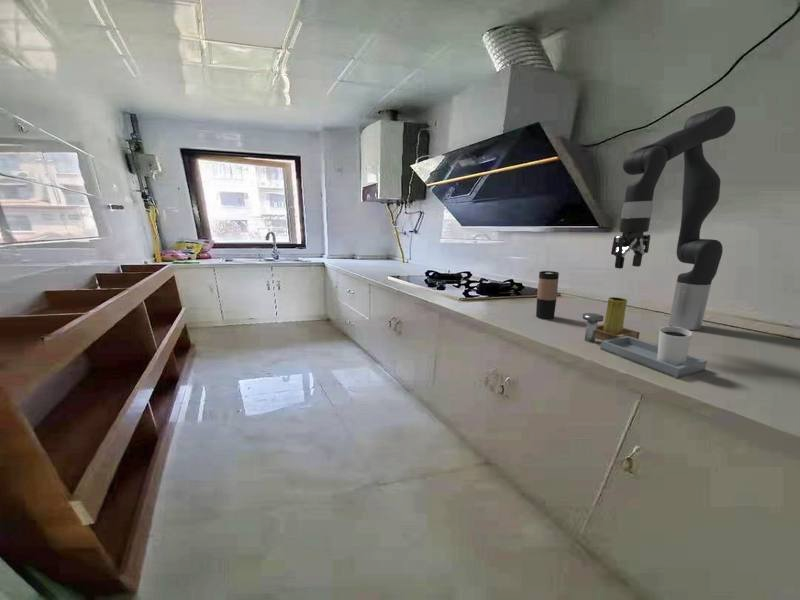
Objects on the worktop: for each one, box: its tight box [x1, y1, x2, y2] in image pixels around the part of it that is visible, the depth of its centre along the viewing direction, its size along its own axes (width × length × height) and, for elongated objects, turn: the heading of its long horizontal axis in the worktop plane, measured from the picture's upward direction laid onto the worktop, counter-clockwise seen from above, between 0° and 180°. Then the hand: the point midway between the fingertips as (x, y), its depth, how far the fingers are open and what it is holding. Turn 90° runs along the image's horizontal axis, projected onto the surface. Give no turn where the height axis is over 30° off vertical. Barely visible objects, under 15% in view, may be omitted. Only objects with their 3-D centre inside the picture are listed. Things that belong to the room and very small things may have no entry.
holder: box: [595, 323, 641, 341], centre depth 106 cm, size 11×11×3 cm
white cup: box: [657, 325, 693, 366], centre depth 83 cm, size 7×7×10 cm
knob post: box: [582, 312, 605, 343], centre depth 103 cm, size 6×6×9 cm
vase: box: [603, 296, 628, 335], centre depth 105 cm, size 6×6×14 cm
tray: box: [599, 336, 708, 380], centre depth 89 cm, size 12×21×3 cm, turn 20°
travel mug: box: [535, 270, 560, 321], centre depth 129 cm, size 8×8×20 cm
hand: (627, 267), depth 99 cm, fingers open, 8 cm apart
